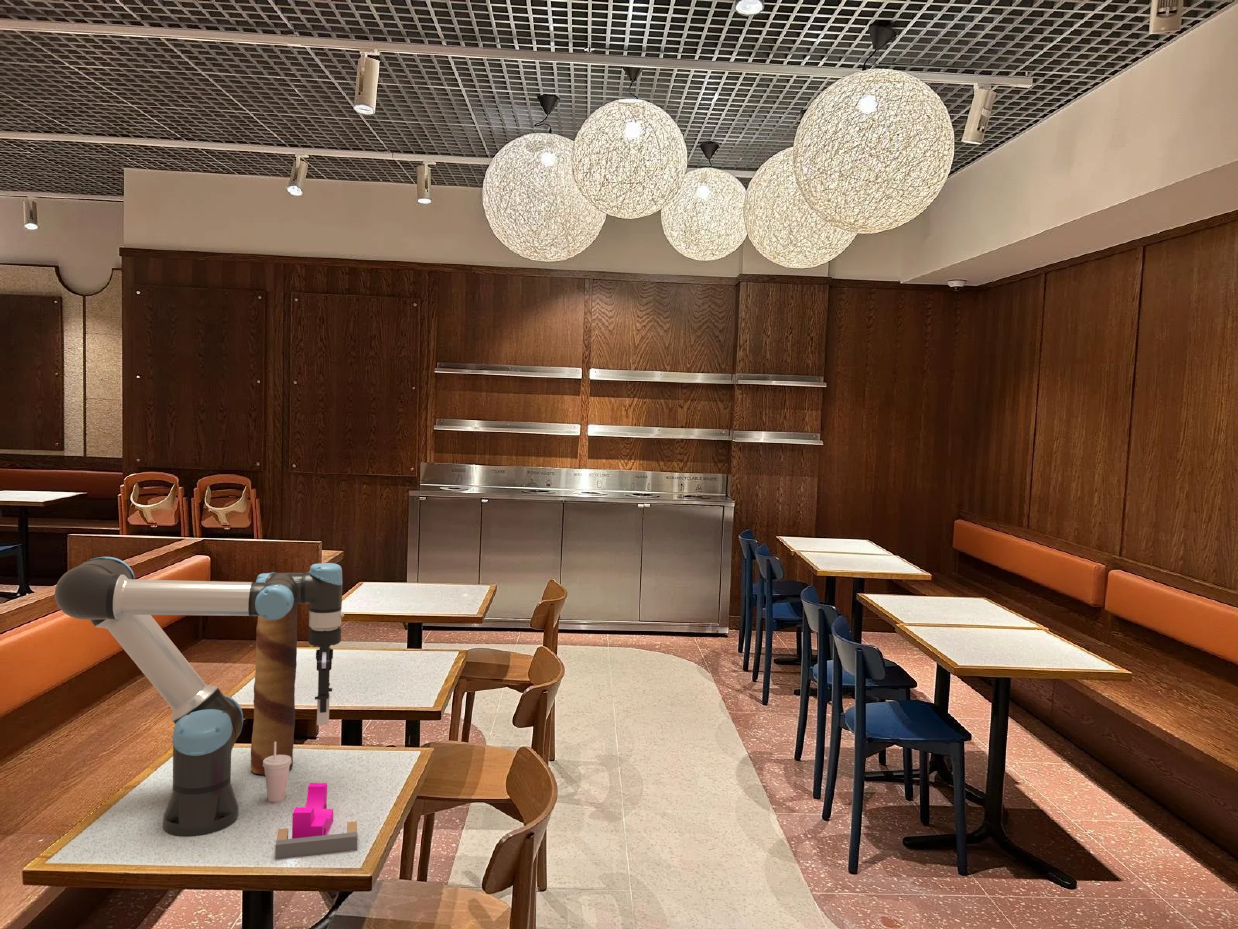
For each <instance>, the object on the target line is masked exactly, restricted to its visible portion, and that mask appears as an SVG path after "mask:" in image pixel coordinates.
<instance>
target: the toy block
mask: <svg viewBox="0 0 1238 929" xmlns="http://www.w3.org/2000/svg"><path fill="white" fill-rule="evenodd" d="M327 802H328V782H310V783H309V784H308V786H307V796H306V801H305V806H296V807H294V810H293V811H292V813H291V814H292V815H291V816H292V818H291V819H292V823H291V827H292V828H291V829H292V830H291V839H294V838H304V837H313V836H323V835H328V833H329V830H330V829H331V826H332V824H333V822H334V808H327V806H328V805H327V804H328V803H327Z"/></svg>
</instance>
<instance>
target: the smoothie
mask: <svg viewBox="0 0 1238 929" xmlns="http://www.w3.org/2000/svg"><path fill="white" fill-rule="evenodd" d="M291 763H292V761H291V757H290V756H288V755H276V741H275V742H274V755H273V756H270V757H267V758H265V759H264V760H263V767H264V769H265V775H264V778H265V787H266V794H267V801H269V803H279V802H282V801H284V800H285V798H286V793H287V786H288V780H289V772H290V770H289V767H290V764H291Z"/></svg>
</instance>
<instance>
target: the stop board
mask: <svg viewBox="0 0 1238 929" xmlns="http://www.w3.org/2000/svg"><path fill="white" fill-rule="evenodd" d="M346 827H347V828H346V832H343V833H335V834H334V833H333V834H327V835H323V836H313V837H304V838H294V839H292V838H289V827H284V828H278V829H277V835H276V839H275V840H276V841H275V851H274V852H275V854H274V855H275V856H274V857H275V860H282V859H291V858H292V859H293V858H298V857H308V856H316V855H326V854H327V855H328V854H335V853H342V852H351V850H353V851H357V850H358V821H348V822H347V823H346Z"/></svg>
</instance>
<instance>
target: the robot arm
mask: <svg viewBox="0 0 1238 929" xmlns="http://www.w3.org/2000/svg"><path fill="white" fill-rule="evenodd" d="M343 582H344V581H343V569H342V566H341V565H340V564H337V563H335V562H334V563H333V562H321V563H314V564H312V565H310V567H309V571H308V572H307V571H306V572H273V571H272V572H267V573H264V572H263V573H260V574H258V575H257V577H256V580H255V582H253V581H222V580H221V581H219V580H218V581H217V580H211V581H210V580H209V581H208V580H174V579H171V580H170V579H167V580H166V579H165V580H164V579H136V577H135V573H134V571H133V569H132V568H131V567H130V565H128V564H127V563H126V562H125V561H123V560H122V559H119V558H117V557H112V556H101V557H99V556H98V557H94V558H90V559H88V560H87V561H84V562H83V563H81V564H79V565H78V566H76V567H73V568H71V569H69V570H68V571H67V572H65V573H63V574H62V576H60V578H59V580H58V581H57V583H56V585H55V589H54V601H55V602H56V603H55V604H56V605H57V606H58V608H59V609H60V610H61V611H62V612H63V613H64V614H65V615H66V616H69V617H70V618H73V619H77V620H85V621H86V620H89V621H90V622H91V624H93V626H94V627H95V628H97V629H99V628H100V629H106V630H107V631H108V632H109V633H110V634H111V636H112V637H113V638H114V639H115V640H116V641H117V643H118V644H119V645H120V646H121V648H122V649H123V650H124V652H125V653H126V654H127V655H128V656H129V657H130V659H131V660H132V661H133V662H134V663H135V664H136V666H137V668H138V669H139V670H140V671H141V672H142V674H144V677H146V679H147V680H149V682H150V683H151V685H152V686H153V687H154V688H155V690H156V691H157V692H158V693H159V695H161V697H162V698H163V699H164V701H165V702H166V703H167V705H169V707H170V709H172V714H171V719H170V720H171V721H172V722H173V724H174V728H173V732H172V733H173V734H172V737H171V739H172V791H171V795H170V797H169V800H168V803H167V805H166V808H165V812H164V814H163V820H162V822H163V823H162V828H163V831H164V832H165V833H167V834H168V835H171V836H175V837H183V838H186V837H187V838H188V837H189V838H190V837H200V836H206V835H210V834H214V833H217V832H220V831H223V830H225V829H227V828H228V827H230V826H232V825H234V824H235V823H236V821H237V820H238V818H239V812H240V811H239V803H238V799H237V798H236V795H235V790H233V786H232V784H231V782H232V780H231V779H232V778H231V777H232V776H231V775H232V774H231V773H232V772H231V771H232V769H231V768H232V751H233V748H234V746H235V744H236V742H237V739H238V738H239V736H240V735H241V732H242V729H243V726H244V725H243V724H244V713H243V710H242V707H241V706H240V704H239V703H238V701H236V700H235V699H234V698H233V697H232V696H231V697H230V696H228V695H225V694H224V693H223V691H221V689H220V688H219V687H218V686H217V685H209V684H206V683H205V681H204V680H203V678H202V677H201V676H200V675H199V674H198V672H197V671H196V670H195V669H194V668H193V666H192V665H191V663H189V661H188V660H187V659H186V658H185V656H184V655H183V653H181V651H180V650H179V649H178V647H177V646H176V645H175V644H174V642H173V641H172V640H171V639H170V637H169V636H168V634H166V632H165V631H164V630H163V629H162V627H161V626H160V625H159V623H158V622H157V621H156V619H154V617H153V616H218V617H219V616H221V617H222V616H223V617H225V616H227V617H230V616H237V617H240V616H242V617H243V616H244V617H247V616H248V617H258V616H261V617H263V618H264V619H267V620H277V619H280V618H282V617H284V616H285V615H286V614H287V613H288V612H289V611H290V610H291V608H292V606H293V604H297V605H306V604H309V608H308V627H309V629H308V643H309V645H311V646H314V647H319V648H318V649H316V650H315V660H316V671H317V672H318V675H317V676H318V677H317V678H318V679H317V680H318V682H317V696H314V700H316V701H317V707H316V710H317V711H316V726H327V725H329V724H330V696H331V695H330V694H331V692H333V687H330V685H331V683H330V671H331V670H332V665H333V663H332V662H333V658H334V649H333V648H331V646H336V645H339V644H340V643H341V642H342V628H341V625H342V618H344V617H345V614H344V612H342V610H343V609H342V606H343V603H342V602H343Z"/></svg>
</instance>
